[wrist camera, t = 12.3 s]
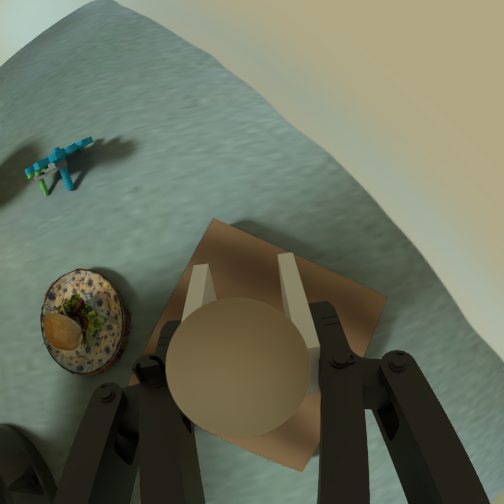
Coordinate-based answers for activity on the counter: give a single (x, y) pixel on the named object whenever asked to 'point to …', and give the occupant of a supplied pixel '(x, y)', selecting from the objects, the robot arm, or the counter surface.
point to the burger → (84, 322)
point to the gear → (60, 164)
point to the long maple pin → (238, 367)
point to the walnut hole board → (269, 291)
